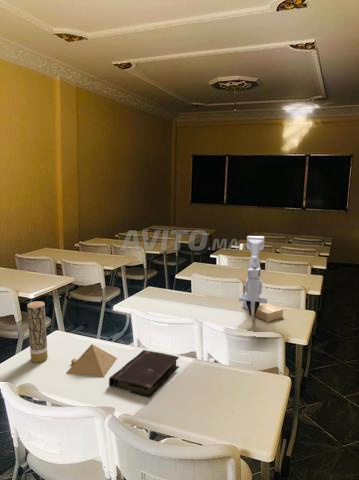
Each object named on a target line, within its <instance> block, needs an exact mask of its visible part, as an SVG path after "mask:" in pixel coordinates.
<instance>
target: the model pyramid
mask: <svg viewBox="0 0 359 480" xmlns="http://www.w3.org/2000/svg"><path fill="white" fill-rule="evenodd" d="M117 360H118V357H116V356H114V355H112V354H111V353H109V352H107V351H105V350H104V349H101V348H100V347H98V346H96V345H94V344H93V343H91V344H90V345H89V346H88V348H87V349H86V350H85V351H84V352H83V353H82V354H81V355H80V356H79V357H78V358H77V359H76V358H72V359H71V366H70V368H69V369H68V370H67V371H66V372H65V374H67V375H77V376H87V377H96V378H105V377H106V375H107V374H108V372H109V371H110V369H111V368H112V366H113V365H114V364H115V363H116V361H117Z"/></svg>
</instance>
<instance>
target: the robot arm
mask: <svg viewBox="0 0 359 480" xmlns="http://www.w3.org/2000/svg"><path fill="white" fill-rule="evenodd" d="M246 248H247V250H249V251H250V253H251V255H250V258H249V260H248V261H249V262H248V263H249V264H248V268H247V279H246V280H245V284H244V293H243V296H239V297H238V298H239V299H238V302H242V305H241V307H242V308H244V309H246V310H248V313H249V314H248V315H249V316H252V308H253V307H255V310H254V313H255V314H256V311H257V309H258V307H259V306H261V305H260V303H263V304H268V298H265V297H260V295H262V294H263V281H262V280H261V273H262V271H261V258H260V257H259V255H260V254H259V253H260V251H263V250H264V248H265V236H264V235H263V236H258V235H247V236H246Z"/></svg>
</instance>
